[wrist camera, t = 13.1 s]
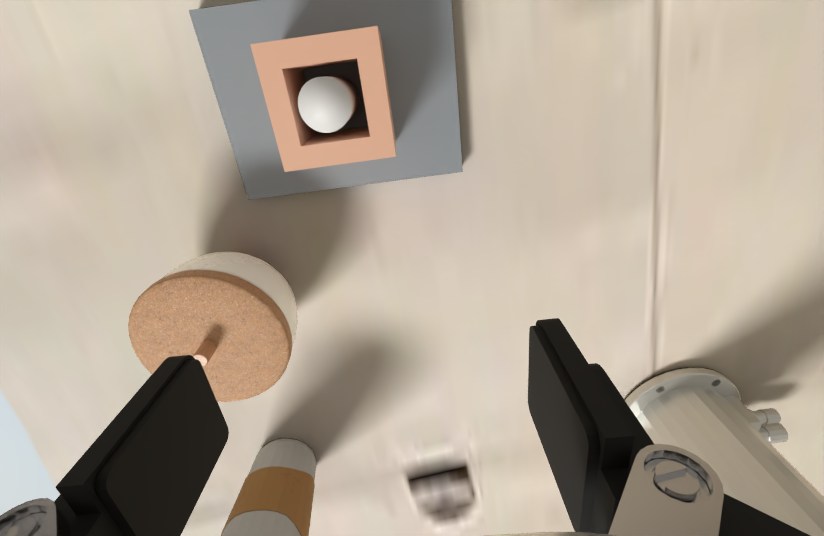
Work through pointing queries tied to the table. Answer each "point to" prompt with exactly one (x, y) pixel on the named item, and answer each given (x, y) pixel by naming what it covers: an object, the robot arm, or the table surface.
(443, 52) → the board
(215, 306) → the lidded jar
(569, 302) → the table surface
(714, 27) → the table surface
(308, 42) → the collar
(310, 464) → the coffee cup
